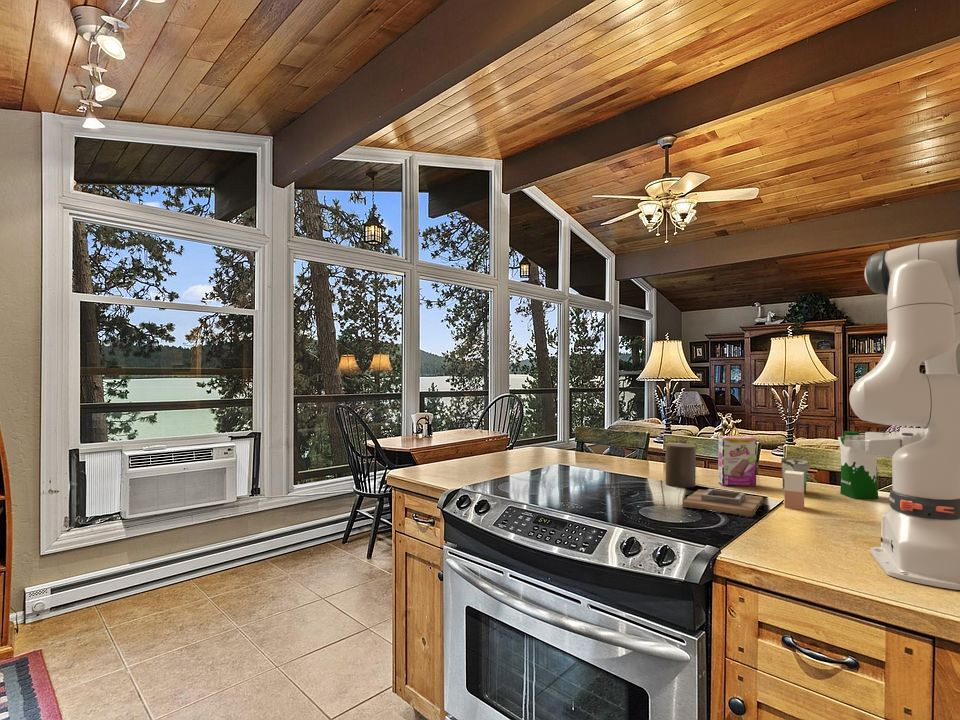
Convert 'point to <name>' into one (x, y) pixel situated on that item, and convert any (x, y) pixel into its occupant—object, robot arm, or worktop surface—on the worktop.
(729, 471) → the candy bar box
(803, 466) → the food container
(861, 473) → the milk carton
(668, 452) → the pillar candle
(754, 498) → the walnut plate
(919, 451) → the robot arm
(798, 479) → the block stack
